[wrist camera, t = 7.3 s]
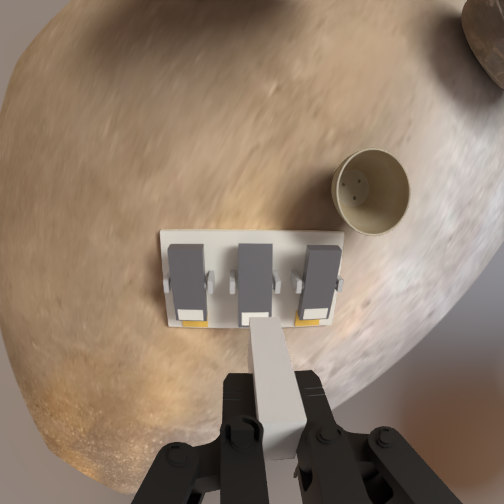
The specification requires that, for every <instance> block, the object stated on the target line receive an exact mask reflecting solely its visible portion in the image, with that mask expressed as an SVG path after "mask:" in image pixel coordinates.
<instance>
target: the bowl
mask: <svg viewBox="0 0 504 504" xmlns="http://www.w3.org/2000/svg"><path fill="white" fill-rule="evenodd" d="M462 27H463V30H464V33H465V36H466V39H467V41H468V43H469V46H470V48H471V50H472V51H473V53H474V55H475V57H476V58H477V60H478V61H479V63H480V64H481V65H482V67H483V68H484V70H485V71H486V72H487V74H488V75H489V76H490V77H491V79H492V80H493V81H494V82H495V83H496V84H497V85H498V86H499V87H500V88H502V89H503V90H504V0H467V2H466V3H465V5H464V7H463V10H462Z"/></svg>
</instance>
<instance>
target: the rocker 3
mask: <svg viewBox="0 0 504 504" xmlns="http://www.w3.org/2000/svg"><path fill="white" fill-rule="evenodd" d="M341 255H342V250H341V248H340V247H339V246H338V245H307V246H306V254H305V262H304V270H303V277H302V289H301V293H300V299H299V305H298V312H297V314H298V317H299V320H316V319H328V318H329V314H330V309H331V305H332V300H333V296H334V291H335V287H336V281H337V276H338V271H339V266H340V260H341Z"/></svg>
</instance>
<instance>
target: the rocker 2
mask: <svg viewBox="0 0 504 504" xmlns="http://www.w3.org/2000/svg"><path fill="white" fill-rule="evenodd" d="M272 267H273V244H255V243H238V281H237V289H238V327H249V317H272V289H273V287H274V284H273V281H272Z"/></svg>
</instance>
